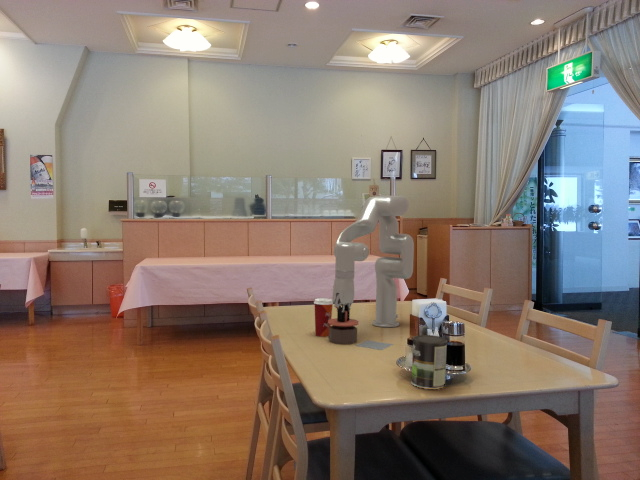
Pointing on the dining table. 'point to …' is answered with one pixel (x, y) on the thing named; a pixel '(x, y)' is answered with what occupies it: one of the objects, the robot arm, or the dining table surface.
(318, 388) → the dining table surface
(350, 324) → the lid
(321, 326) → the coffee cup
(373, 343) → the mat
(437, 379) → the coffee can
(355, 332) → the bowl
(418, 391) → the dining table surface
